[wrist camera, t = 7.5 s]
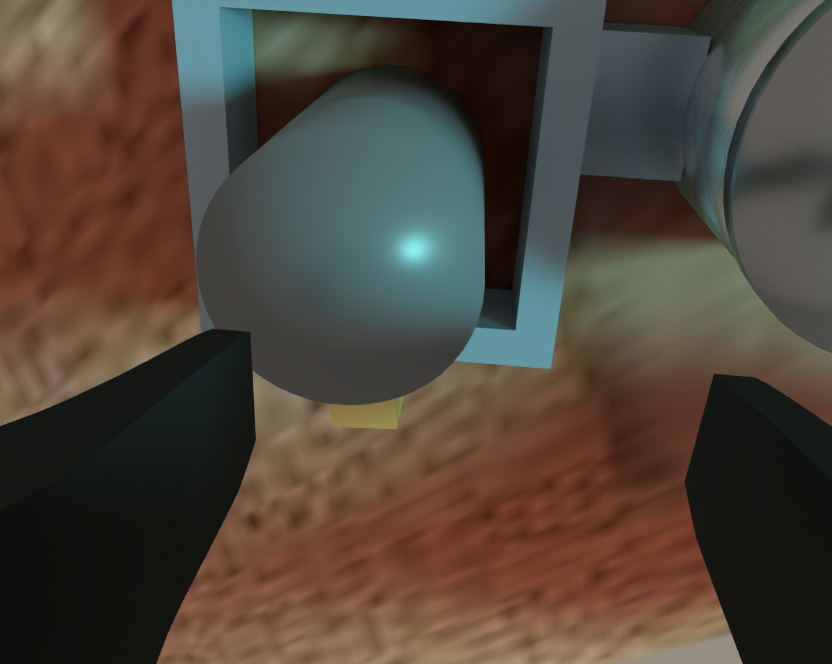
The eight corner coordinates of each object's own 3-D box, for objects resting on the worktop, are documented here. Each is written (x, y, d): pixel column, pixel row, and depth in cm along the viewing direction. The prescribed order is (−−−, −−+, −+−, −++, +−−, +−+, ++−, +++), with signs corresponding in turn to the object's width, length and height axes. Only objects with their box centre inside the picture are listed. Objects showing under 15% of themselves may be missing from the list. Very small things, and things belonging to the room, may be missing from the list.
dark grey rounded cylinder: (486, 66, 18) (490, 135, 11) (479, 307, 21) (477, 486, 14) (293, 65, 19) (175, 133, 11) (311, 303, 21) (227, 476, 14)
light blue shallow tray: (593, -27, 17) (610, -24, 15) (543, 325, 21) (550, 368, 19) (207, -49, 18) (167, -50, 15) (231, 300, 22) (202, 339, 19)
